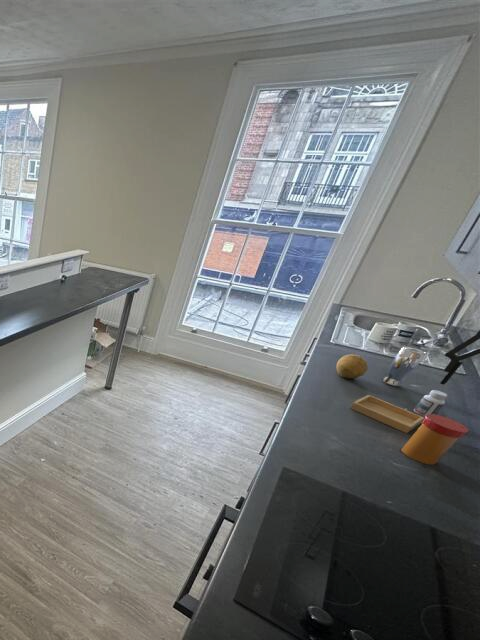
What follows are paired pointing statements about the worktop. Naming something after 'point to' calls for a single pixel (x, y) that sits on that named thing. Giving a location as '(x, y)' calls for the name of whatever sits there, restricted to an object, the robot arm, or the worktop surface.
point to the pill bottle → (431, 403)
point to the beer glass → (403, 365)
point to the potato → (351, 366)
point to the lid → (445, 426)
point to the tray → (387, 413)
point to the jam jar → (427, 445)
